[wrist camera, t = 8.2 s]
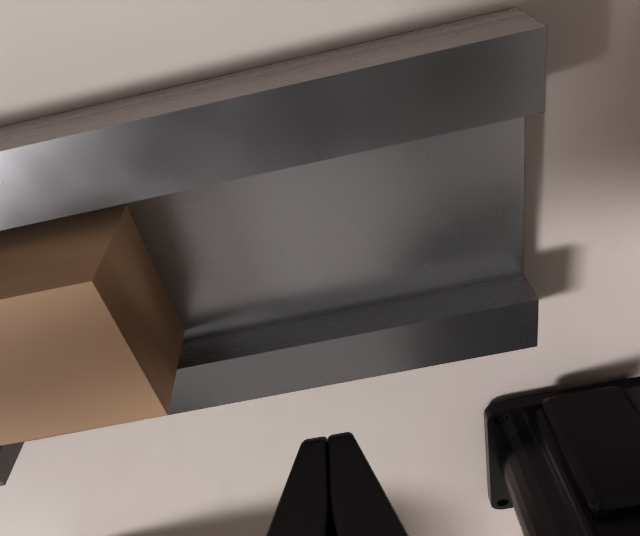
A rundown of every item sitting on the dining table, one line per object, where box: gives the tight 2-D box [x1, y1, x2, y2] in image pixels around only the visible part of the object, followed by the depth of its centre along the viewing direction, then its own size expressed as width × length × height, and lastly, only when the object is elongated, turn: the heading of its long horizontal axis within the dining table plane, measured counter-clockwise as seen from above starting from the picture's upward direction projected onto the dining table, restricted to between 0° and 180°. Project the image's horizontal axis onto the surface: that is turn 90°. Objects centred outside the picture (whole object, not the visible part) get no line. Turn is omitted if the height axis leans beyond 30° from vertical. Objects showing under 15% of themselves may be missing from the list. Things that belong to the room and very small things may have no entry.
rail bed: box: [0, 7, 547, 445], centre depth 15 cm, size 9×16×2 cm, turn 102°
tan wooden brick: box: [0, 205, 185, 446], centre depth 14 cm, size 4×7×3 cm, turn 102°
